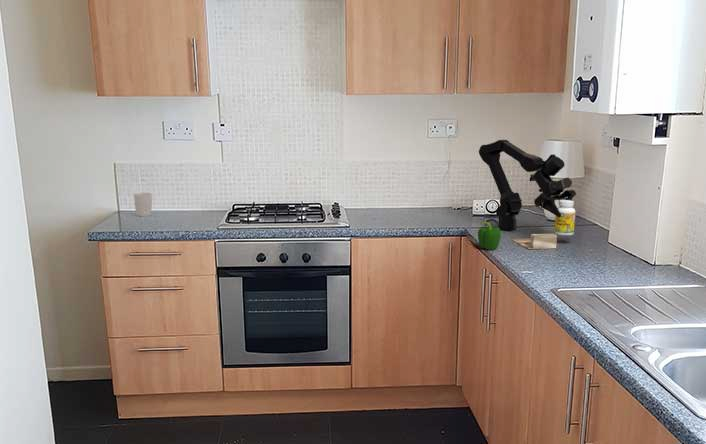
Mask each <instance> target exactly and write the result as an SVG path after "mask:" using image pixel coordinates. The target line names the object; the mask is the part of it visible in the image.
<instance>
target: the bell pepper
mask: <svg viewBox="0 0 706 444" xmlns="http://www.w3.org/2000/svg"><path fill="white" fill-rule="evenodd" d="M482 224H483V225H487V227H486V226H481V227H480V228H479V229H478V232H477V239H478V245H479V246H480V248H481V249H485V250H489V251H492V250H497V248H498V247H499V244H500V241H501V236H502V231H501V230H500V228H498V227H493V226H491V223H489V222H487V221H483V222H482Z"/></svg>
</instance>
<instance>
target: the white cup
mask: <svg viewBox="0 0 706 444" xmlns="http://www.w3.org/2000/svg"><path fill="white" fill-rule="evenodd" d="M152 195H153V194H152V193H151V192H137V193H133V200H134V208H135V213H136V216H137V217H148V216H149V217H150V216H151V215H152V206H153V205H152V197H153V196H152Z"/></svg>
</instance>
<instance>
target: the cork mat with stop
mask: <svg viewBox="0 0 706 444" xmlns="http://www.w3.org/2000/svg"><path fill="white" fill-rule="evenodd" d="M557 240H558V234H556V233H532V234H530V238H511V241H512V242H515V243H516V244H518V245H519V244H520V246H521V245H522V246H521V247H523V246H524V247H523V248H525V247H526V248H525V249H527V248H528V249H546V250H550V249H549V248H556V246H557ZM528 249H527V250H528Z"/></svg>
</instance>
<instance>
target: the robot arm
mask: <svg viewBox="0 0 706 444" xmlns="http://www.w3.org/2000/svg"><path fill="white" fill-rule="evenodd" d="M501 153H505V154H506V155H508V156H509V157H511V158H513V159H514V160H515V161H517V162H518V163H519V166H520V167H521V168H522V169H523V170H524V171H525V172H527V173H531V172H535V173H533V174H530V178H529V182H535V183H536V184H537V186H538V187H539V189H538V192H539V193H540V194H539V195H538V196H537V197H536V198H534V201H533V203H534V205H535V206H536V207H535V208H541V209H544V210H546V211H548V212H549V213H551V214H553V215H554V216H555V217H556V216H557V217H561V214H560V212H559V210H558V206H557V205H556V201H559V200H571V201H573V199H574V197H575V196H577V192H576V191H575V189H569V188H571V185H573V181H572V180H571V178H569V176H568V177H565V178H563V179H559V180H558V181H557V180H553V178H552V177H555V176H556V175H557V174H558V173H559V172H560V171H561V170H562V169H563V168H565V162H564V160H563V159H562V158H560V157H558V156H557V155H556V154H553V153H552V154H550V155H549V156H548V158H547V159H546V160H544V159H543V158H542V157H540V156H537V155H535V154H530V153H527V152H526V151H524V150H522V149H521V148H519V147H518V146H516V145H515V144H513V143H511V142H510V141H509V140H508V139H498V140H496V141H494V142H491V143H487V144H482V145H480V147H479V150H478V154H479V155H478V156H480V158H481V160H482V162H484V163H485V164H487V166H488V168H489V170H490V173H491V175H492V178H493V180H494V181H495V185H496V188H497V190H498V192H499V195H500V197H499V206H498V207H497V208H496V209H495V213H496V216H498V227H497V228H500V231H506V232H511V231H514V230H517V219H516V216H518V215H519V213H520V211H521V209H522V207H523V203H522V202H523V200H522V198H521V197H520V193H519V192H514V191H513V190H512V188H511V186H510V183H509V180H508V179H507V176H506V173H505V171H504V169H503V167H502V163H501V162H500V160H501ZM567 188H568V189H567ZM564 189H565V191H564ZM566 189H567V190H566ZM572 208H574V206H573V207H572Z"/></svg>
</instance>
